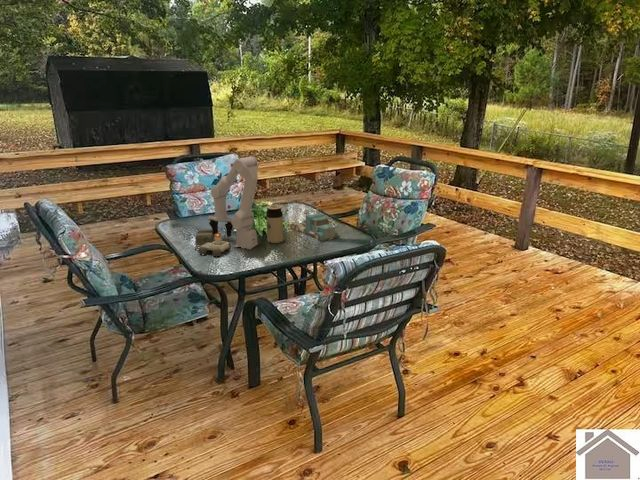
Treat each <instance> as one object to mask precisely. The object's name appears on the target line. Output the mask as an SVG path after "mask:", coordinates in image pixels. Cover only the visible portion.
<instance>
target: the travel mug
mask: <svg viewBox="0 0 640 480" xmlns="http://www.w3.org/2000/svg"><path fill="white" fill-rule="evenodd" d="M266 209H267V210H266V215H265V216H266V233H267V237H266V238H267V242H268V243H270V242H271V244H279V243H281V242H284V221H283V220H284V219H283V217H284V216H283V211H282V205H281V204H280V205H279V204H270V205H266Z"/></svg>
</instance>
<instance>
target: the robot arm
mask: <svg viewBox="0 0 640 480" xmlns="http://www.w3.org/2000/svg"><path fill="white" fill-rule="evenodd" d="M259 165H260V164H259V162H258V160H257V158H256V156H252V155H251V156H250V155H249V156H247V157H241V158H240V157H239V158H238V157H237V158H236V159H235V160H234V162H232V167H231V168H230V170H229V172H228V173H227V175H224V176H221V177H220V180H219V181H218V182H217V184H216V185H214V186H212V187H211V189H210V195H211V197H212V198H213V205H214V206H213V207H214V214H215V215H214V216H213V215H209V216H208V217H207V220H208V225H209V226H210V228H211V230H213V232H214V234H216V233H219V223H224V227H225V230H226V236H227V238H230V237H231V236H232V231H233V229H234V230H235V234H236V244H235V245H233V248H237V247H241V248H240V249H245V248H246V250H252V249H253V248H254V247H257V246H258V245H259V243H258V236H257V235H258V234H257V230H256V229H253V228H252V227H253V225H254V222H255V218H254V217H255V213H254V212H253V210H252V206H253V203H254V199H255V194H256V188H257V183H258V178H259V177H258V169H259ZM237 176H240V177H241V178H242V179H244V184H243V189H242V194H241V199H240V204H239V209H238V210H237V211H236V212H235V213H234V216H233V217H232V218H231V217H228V211H227V195H228V192H229V189H230V188H231V187H232V186H233V184H234V179H236V178H237Z"/></svg>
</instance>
